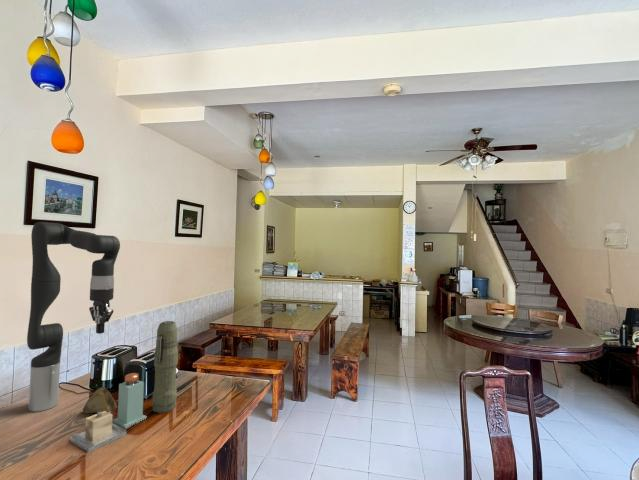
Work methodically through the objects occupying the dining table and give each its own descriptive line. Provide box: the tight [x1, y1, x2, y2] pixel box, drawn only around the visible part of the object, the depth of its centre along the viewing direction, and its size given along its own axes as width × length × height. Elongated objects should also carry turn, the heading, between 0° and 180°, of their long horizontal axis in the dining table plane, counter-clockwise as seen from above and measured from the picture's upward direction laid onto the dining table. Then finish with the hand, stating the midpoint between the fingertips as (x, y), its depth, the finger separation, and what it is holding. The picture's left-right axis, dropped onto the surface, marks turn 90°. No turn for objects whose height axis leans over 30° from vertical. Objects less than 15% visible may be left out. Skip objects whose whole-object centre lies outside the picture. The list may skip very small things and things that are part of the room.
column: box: [112, 379, 147, 429], centre depth 123 cm, size 8×8×14 cm
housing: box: [85, 411, 113, 440], centre depth 112 cm, size 5×6×7 cm
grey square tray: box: [69, 422, 127, 453], centre depth 111 cm, size 12×12×2 cm
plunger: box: [124, 372, 140, 386], centre depth 123 cm, size 4×4×13 cm
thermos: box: [151, 320, 179, 414], centre depth 134 cm, size 9×12×35 cm
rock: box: [82, 387, 118, 414], centre depth 130 cm, size 11×9×10 cm
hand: (100, 333), depth 123 cm, fingers closed
